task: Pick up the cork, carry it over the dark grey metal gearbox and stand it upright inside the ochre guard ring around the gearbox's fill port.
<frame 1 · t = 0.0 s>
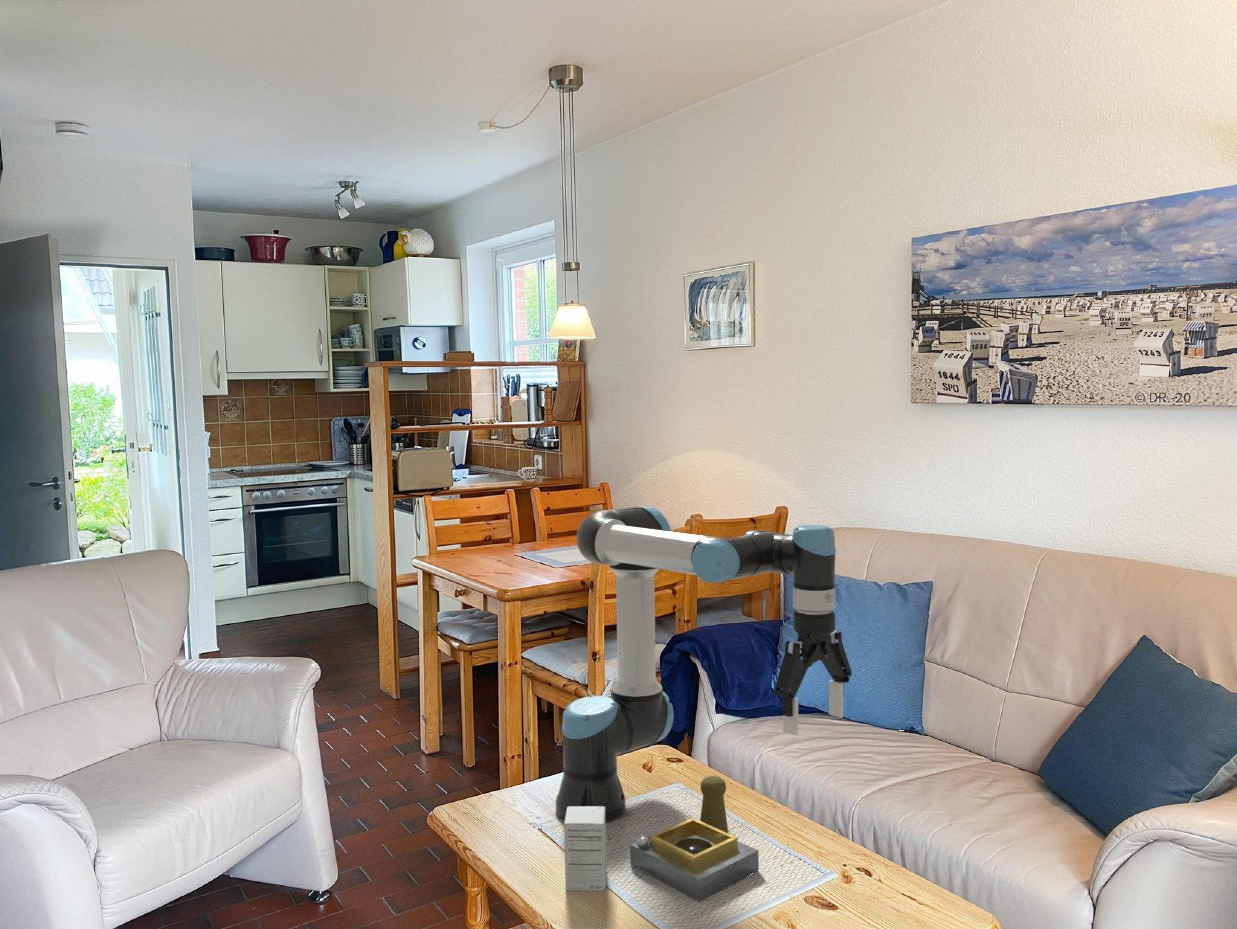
hand: (814, 724, 169), 28 cm above the table, tool pointing down, fingers open, 13 cm apart
cork: (713, 832, 188), on the table
supplement box: (586, 882, 169), on the table
gearbox: (693, 868, 173), on the table
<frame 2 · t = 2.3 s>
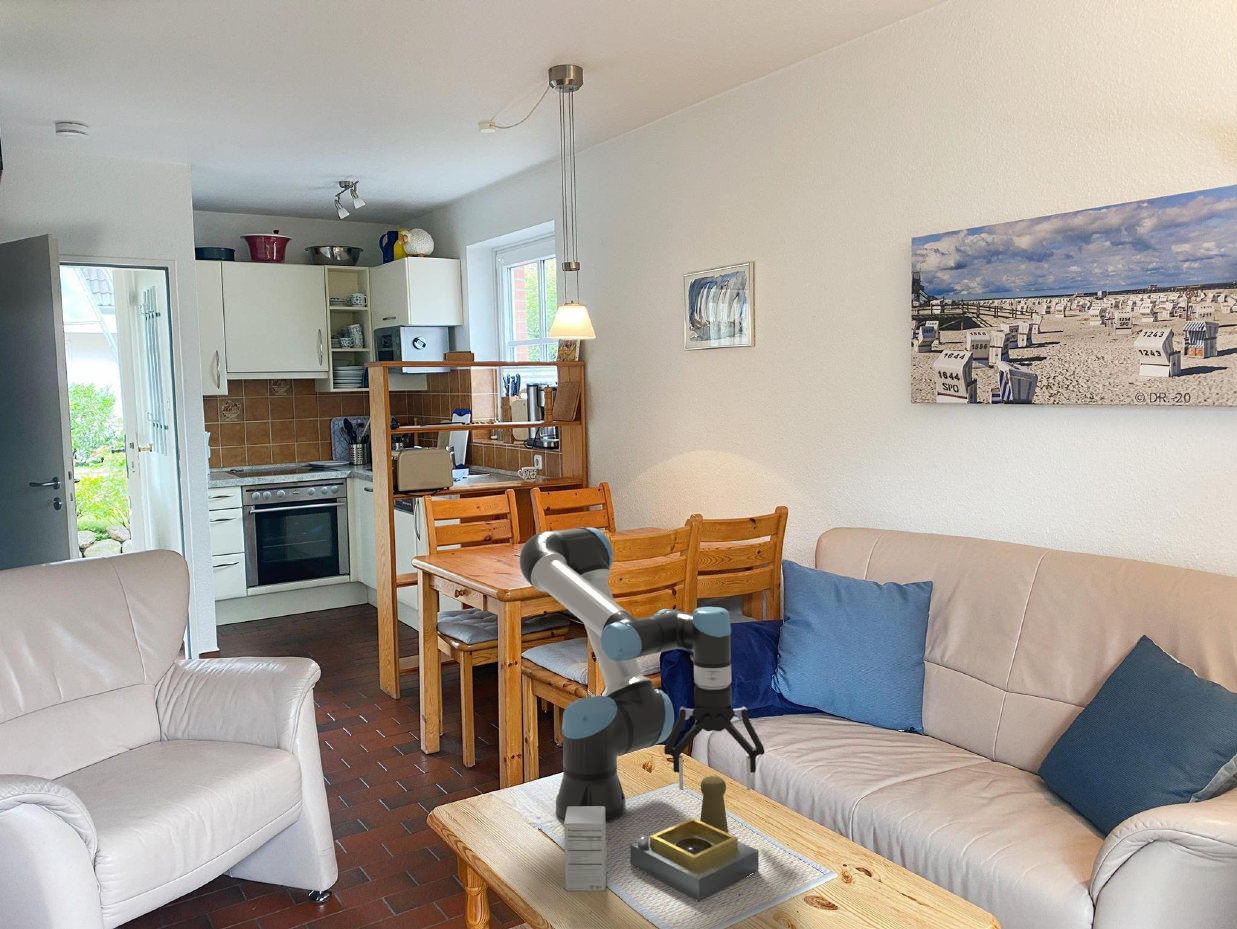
hand: (714, 787, 187), 9 cm above the table, tool pointing down, fingers open, 13 cm apart
nothing on the table moved.
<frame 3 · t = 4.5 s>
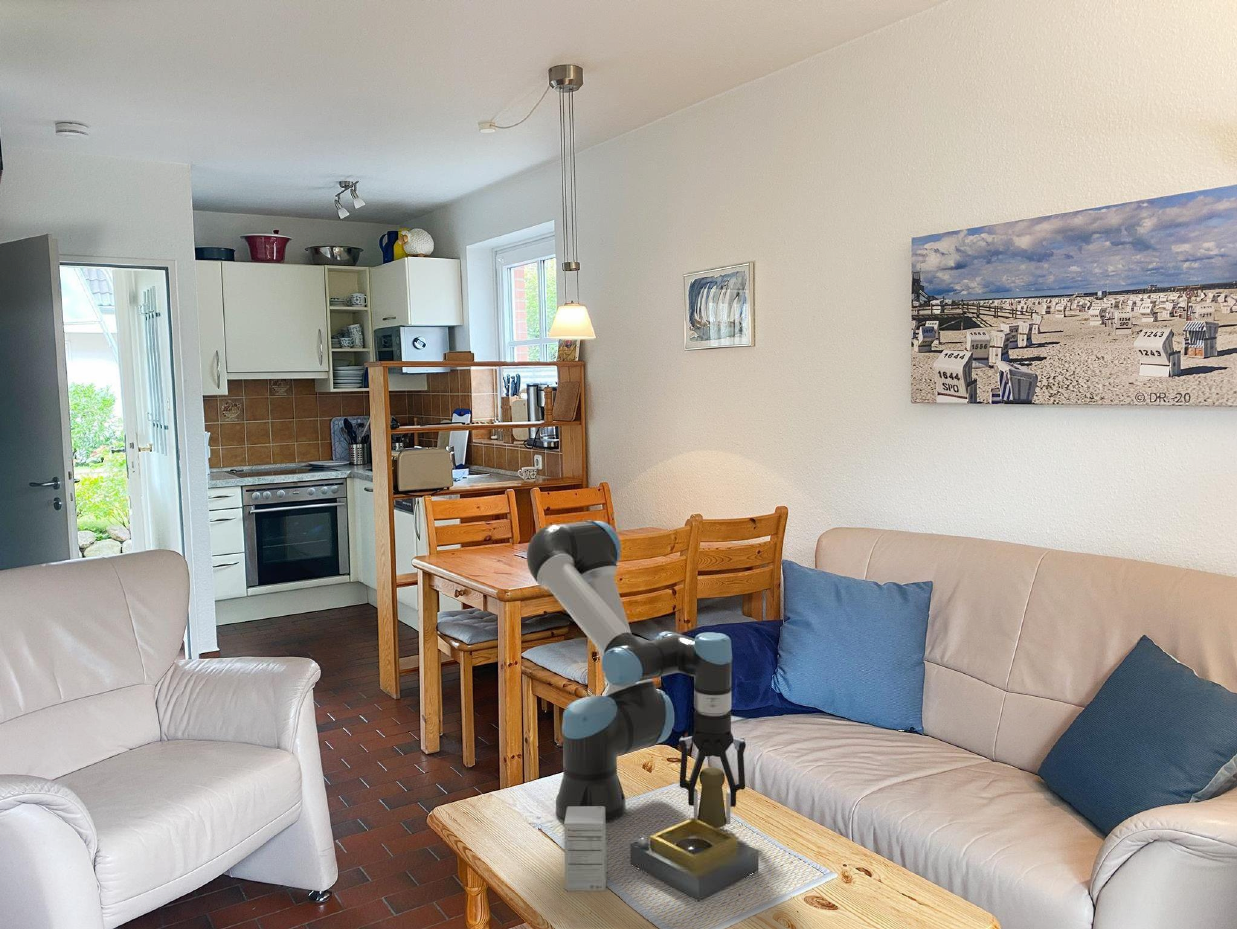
hand: (711, 820, 188), 2 cm above the table, tool pointing down, fingers closed on cork, 6 cm apart
cork: (711, 822, 189), point 2 cm above the table, touching gripper
everything else where it was.
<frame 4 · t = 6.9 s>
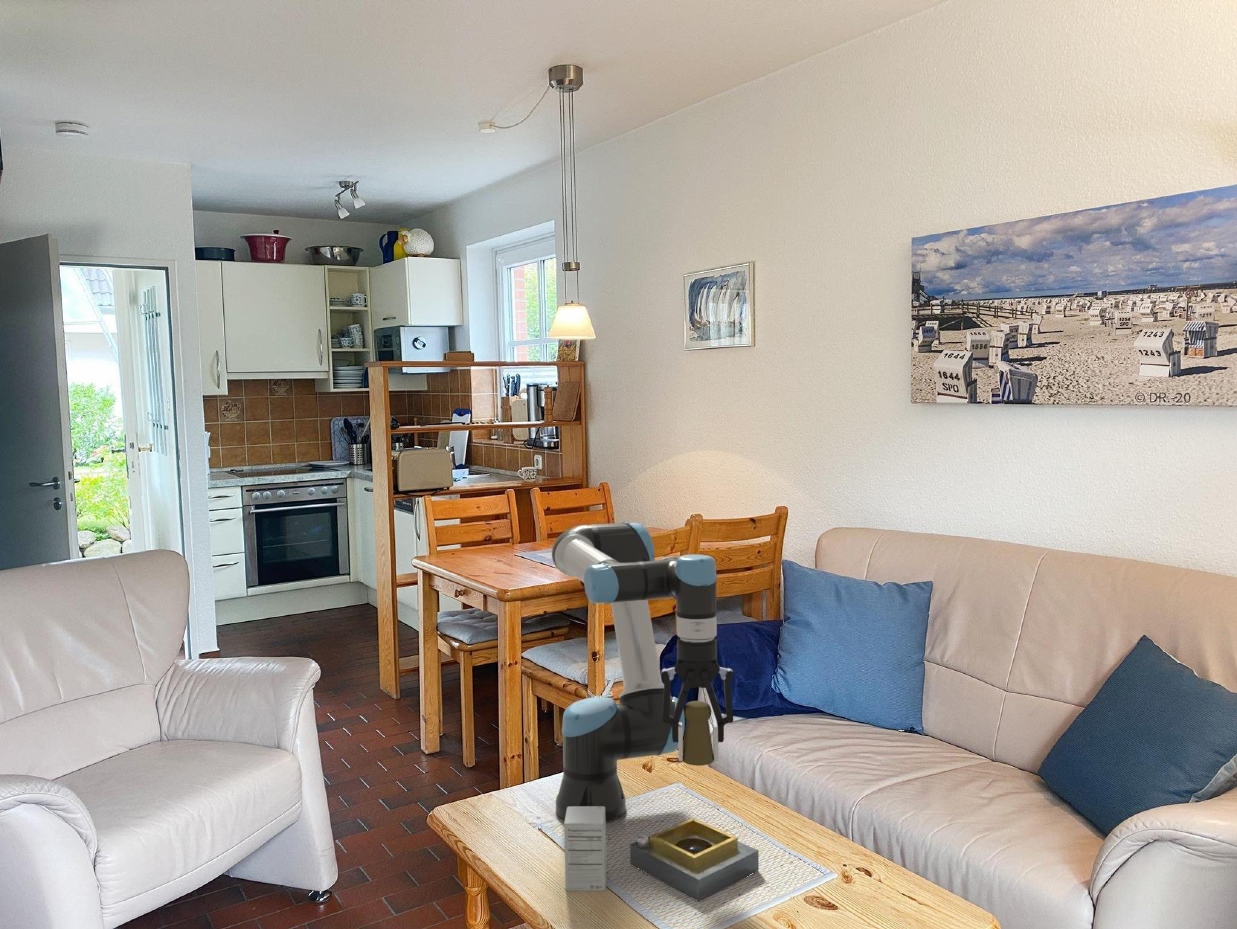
hand: (698, 758, 174), 20 cm above the table, tool pointing down, fingers closed on cork, 6 cm apart
cork: (698, 760, 174), point 20 cm above the table, touching gripper
everything else where it was.
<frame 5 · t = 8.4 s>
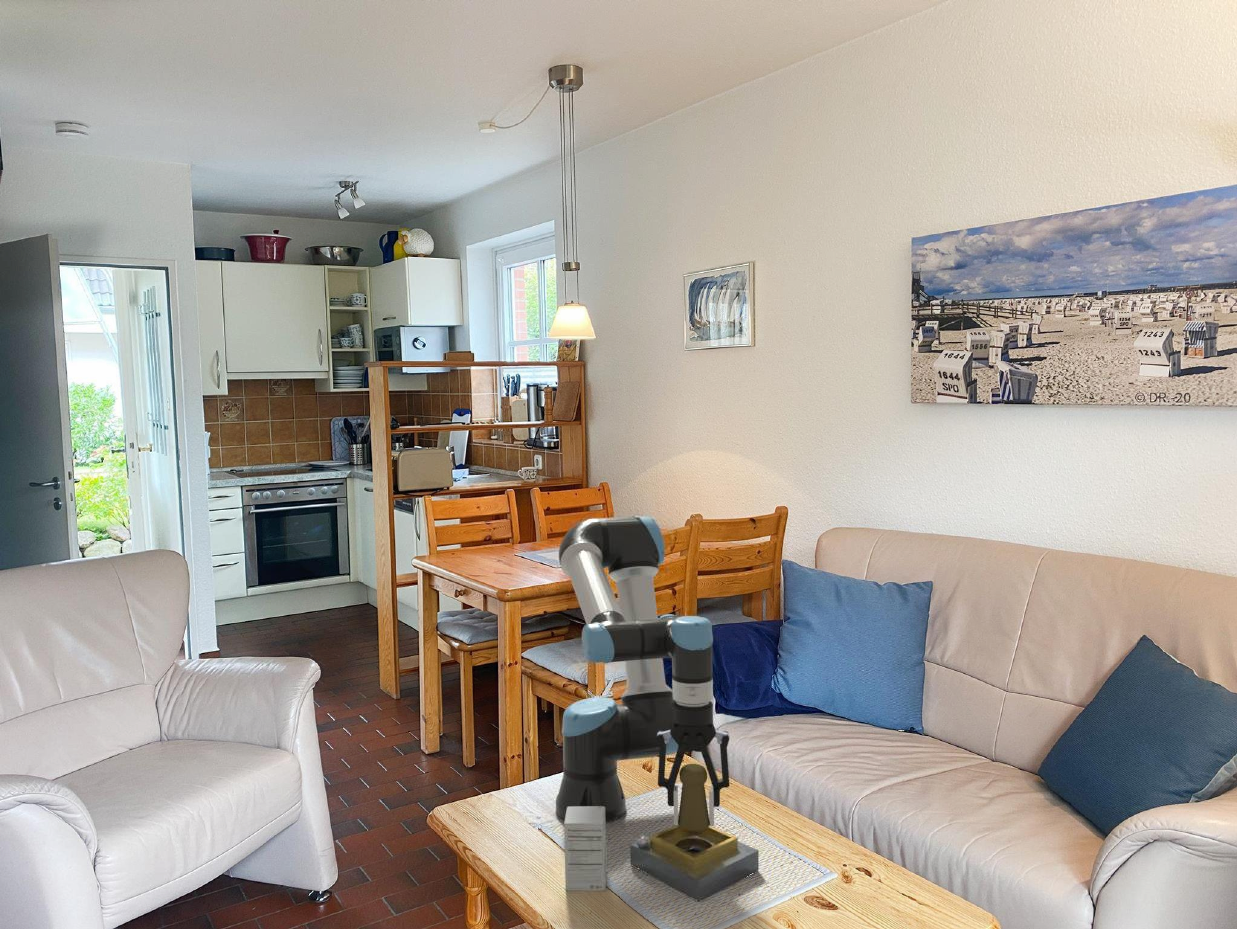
hand: (693, 822, 172), 9 cm above the table, tool pointing down, fingers closed on cork, 6 cm apart
cork: (693, 824, 172), point 8 cm above the table, touching gripper
everything else where it was.
when the fingers open (6 cm above the table, at t = 9.3 s): cork drops 1 cm, resting on gearbox.
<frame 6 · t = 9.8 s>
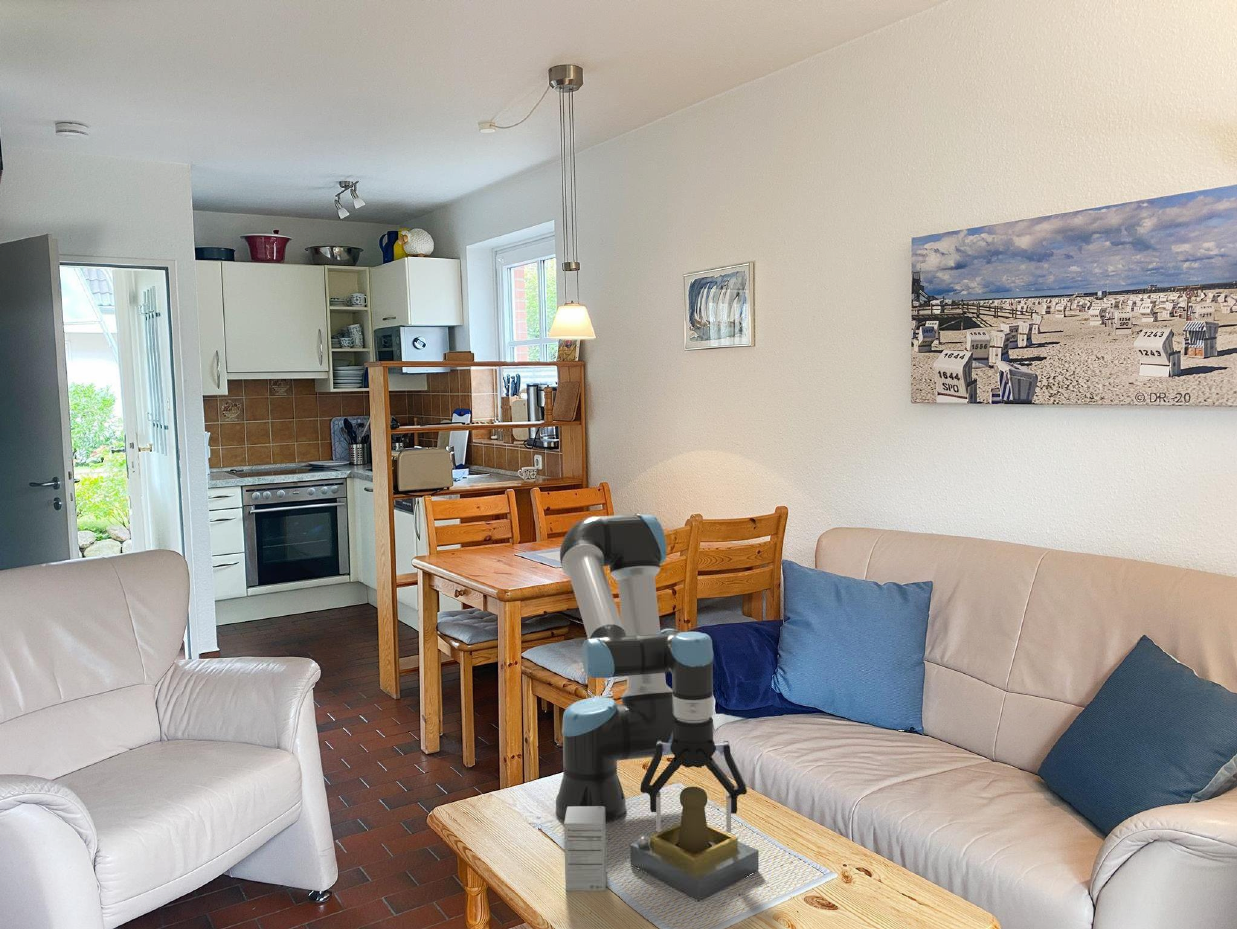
hand: (693, 829, 172), 8 cm above the table, tool pointing down, fingers open, 12 cm apart
cork: (693, 847, 173), point 4 cm above the table, touching gearbox
everything else where it was.
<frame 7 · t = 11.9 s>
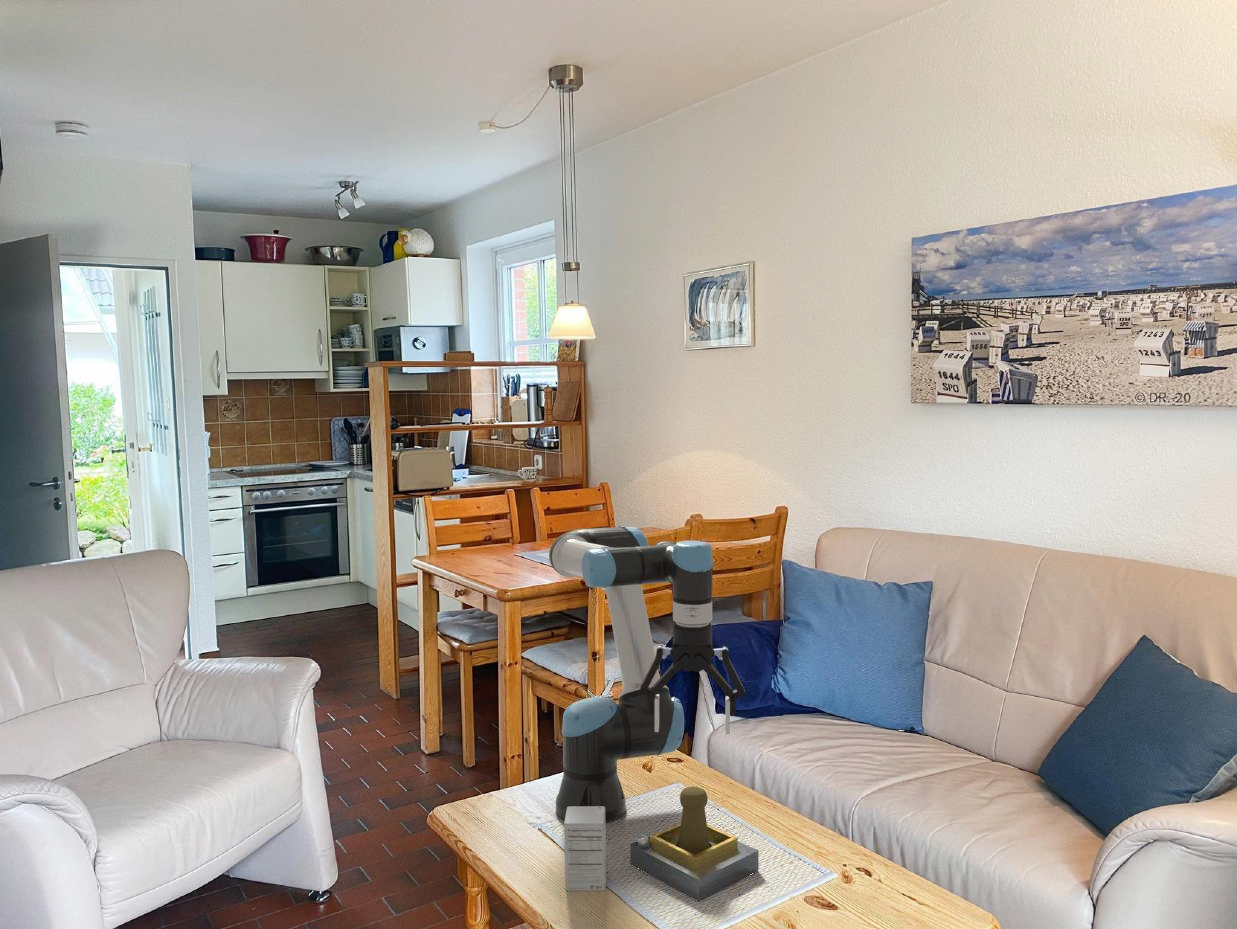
hand: (692, 730, 177), 24 cm above the table, tool pointing down, fingers open, 13 cm apart
nothing on the table moved.
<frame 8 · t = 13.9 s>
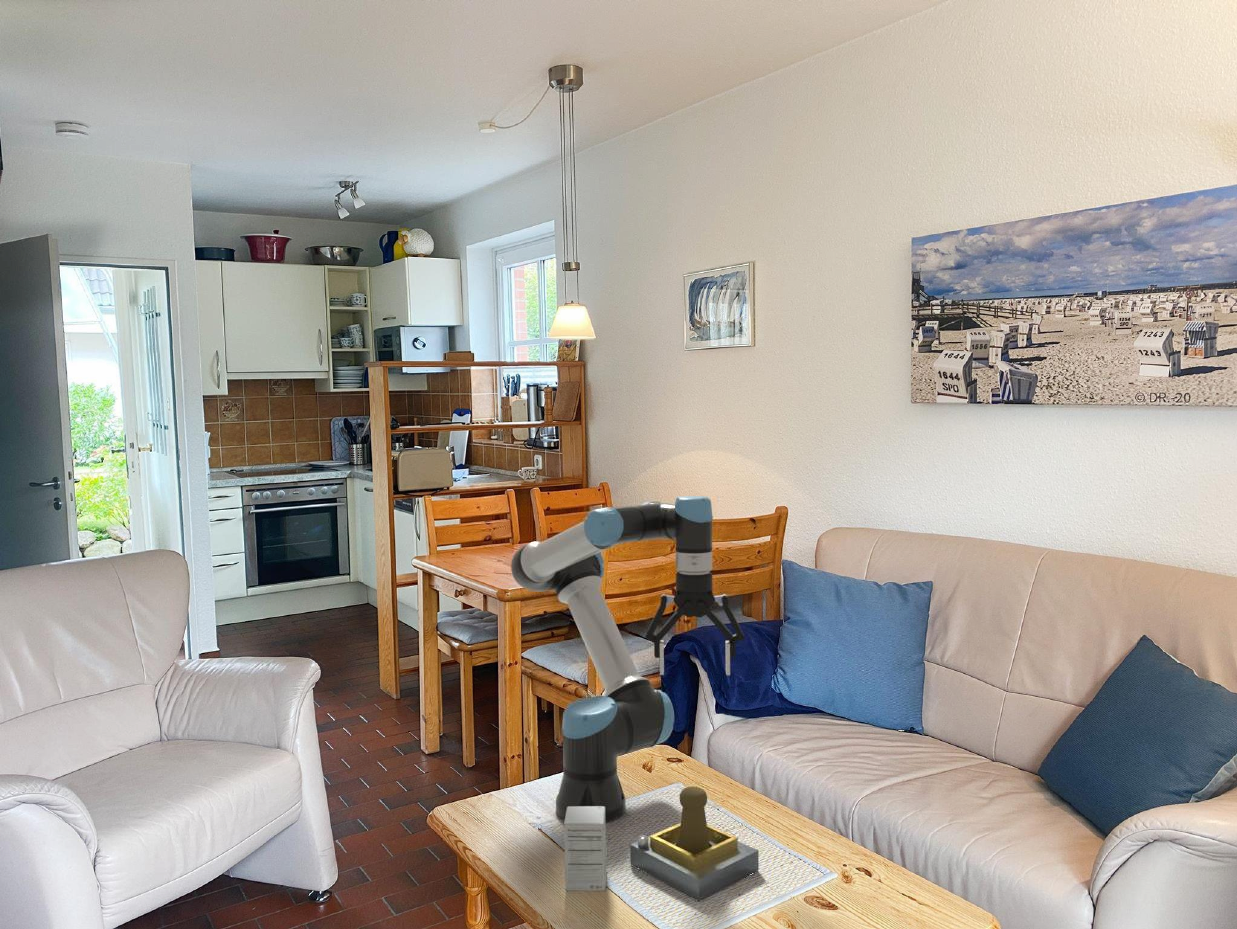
hand: (694, 673, 190), 32 cm above the table, tool pointing down, fingers open, 13 cm apart
nothing on the table moved.
at the end: cork 0.1 cm off-centre on the gearbox, point 3.9 cm above the gearbox's base; cork tilted 0°; the gripper is holding nothing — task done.
